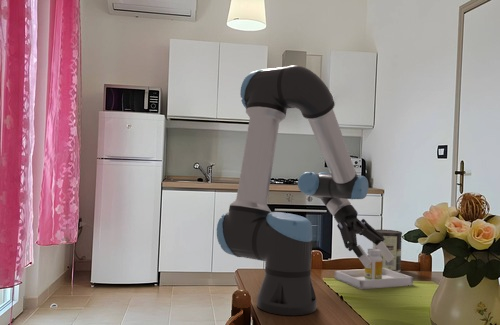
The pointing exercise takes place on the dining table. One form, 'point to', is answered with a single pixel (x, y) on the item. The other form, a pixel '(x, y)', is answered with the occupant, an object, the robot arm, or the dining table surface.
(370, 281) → the white tray
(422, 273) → the dining table surface
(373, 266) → the supplement bottle
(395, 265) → the coffee can
